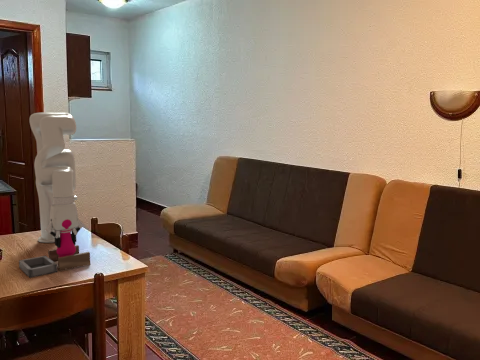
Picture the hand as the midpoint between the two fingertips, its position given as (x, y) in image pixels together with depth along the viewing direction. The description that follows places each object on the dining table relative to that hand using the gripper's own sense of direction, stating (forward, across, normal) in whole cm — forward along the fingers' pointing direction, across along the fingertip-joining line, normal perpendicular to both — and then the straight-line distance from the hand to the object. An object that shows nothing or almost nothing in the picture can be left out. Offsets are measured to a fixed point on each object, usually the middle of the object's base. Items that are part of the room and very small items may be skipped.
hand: (65, 245), depth 184 cm
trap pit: (+8, +11, 0) cm, 14 cm away
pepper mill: (+7, 0, 0) cm, 7 cm away
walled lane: (+8, -1, 0) cm, 8 cm away
